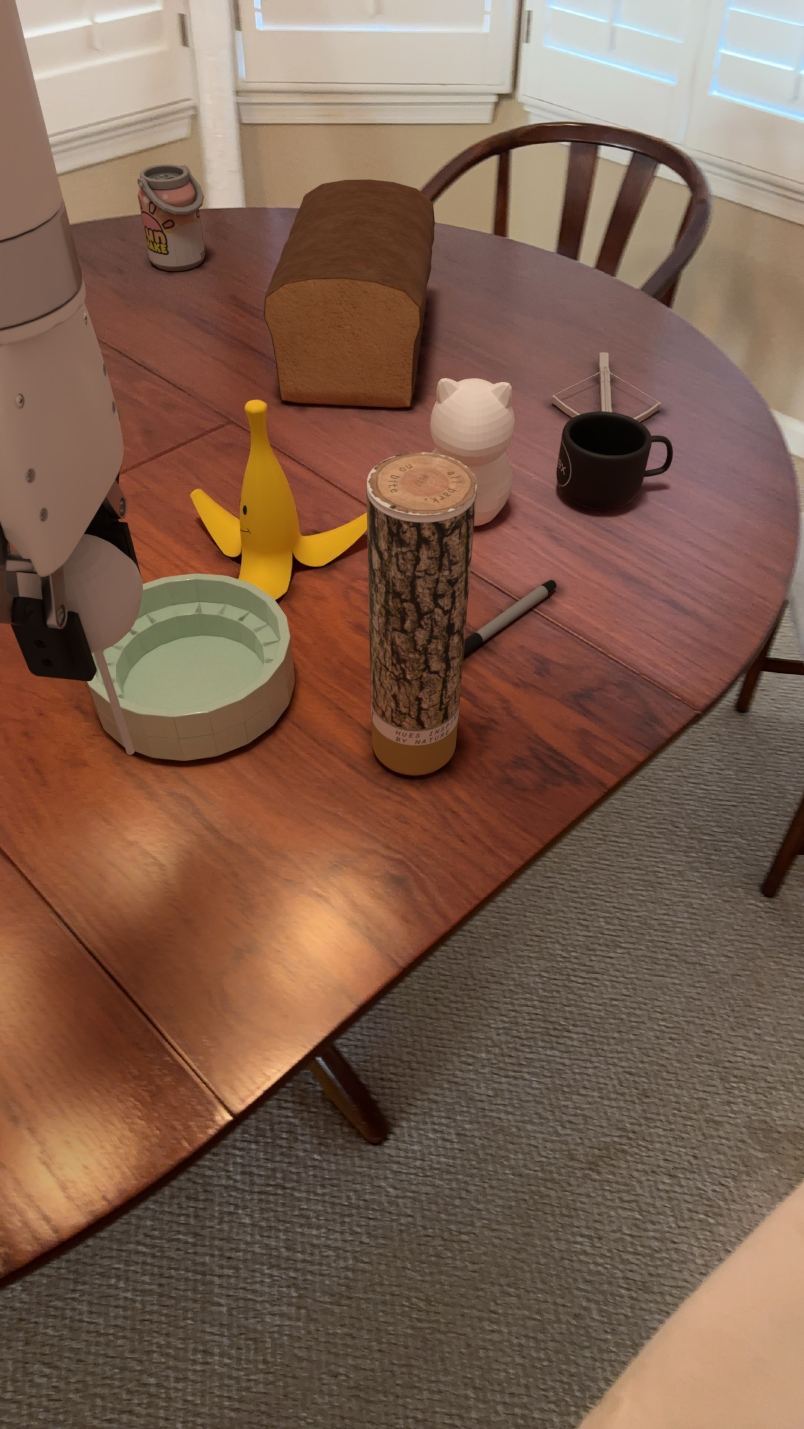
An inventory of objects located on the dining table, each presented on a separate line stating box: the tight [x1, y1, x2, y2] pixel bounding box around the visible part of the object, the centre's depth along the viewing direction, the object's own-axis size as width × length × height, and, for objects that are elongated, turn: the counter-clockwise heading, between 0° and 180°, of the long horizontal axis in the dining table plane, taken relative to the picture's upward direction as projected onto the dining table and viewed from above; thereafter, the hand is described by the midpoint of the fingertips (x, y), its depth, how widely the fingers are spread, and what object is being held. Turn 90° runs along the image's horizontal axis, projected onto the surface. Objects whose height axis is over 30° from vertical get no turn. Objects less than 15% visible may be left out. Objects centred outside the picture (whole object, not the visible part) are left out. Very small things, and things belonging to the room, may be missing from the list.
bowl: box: [84, 572, 296, 762], centre depth 78 cm, size 17×17×6 cm
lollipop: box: [17, 534, 144, 756], centre depth 50 cm, size 6×6×15 cm
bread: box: [263, 178, 436, 409], centre depth 115 cm, size 18×30×16 cm, turn 176°
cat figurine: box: [429, 377, 516, 527], centre depth 93 cm, size 9×12×15 cm
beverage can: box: [136, 163, 206, 272], centre depth 134 cm, size 9×8×12 cm
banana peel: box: [189, 399, 367, 601], centre depth 86 cm, size 17×19×17 cm
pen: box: [463, 579, 557, 658], centre depth 85 cm, size 1×16×1 cm, turn 136°
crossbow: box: [551, 351, 661, 423], centre depth 113 cm, size 16×13×2 cm
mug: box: [555, 410, 674, 510], centre depth 98 cm, size 12×9×7 cm
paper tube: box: [366, 451, 477, 776], centre depth 67 cm, size 7×7×25 cm
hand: (89, 624), depth 48 cm, fingers closed on lollipop, 6 cm apart
